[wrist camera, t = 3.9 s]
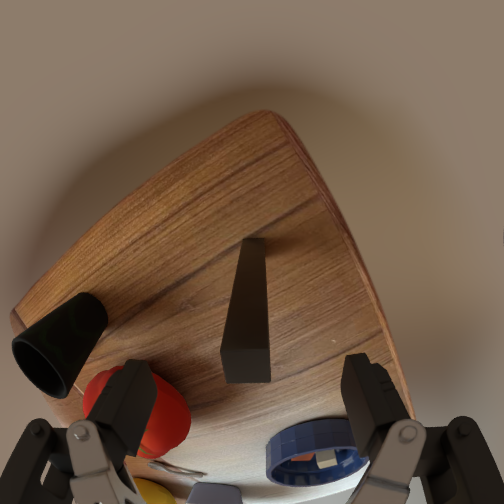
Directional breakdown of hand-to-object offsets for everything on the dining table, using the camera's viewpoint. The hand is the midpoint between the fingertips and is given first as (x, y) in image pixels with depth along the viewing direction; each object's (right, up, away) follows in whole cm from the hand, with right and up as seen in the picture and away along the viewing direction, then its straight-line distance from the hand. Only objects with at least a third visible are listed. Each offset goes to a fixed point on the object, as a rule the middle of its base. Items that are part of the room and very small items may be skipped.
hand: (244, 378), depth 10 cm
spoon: (-16, -41, +32) cm, 55 cm away
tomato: (-15, -15, +23) cm, 31 cm away
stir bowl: (+11, -27, +27) cm, 40 cm away
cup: (-20, -3, +19) cm, 28 cm away
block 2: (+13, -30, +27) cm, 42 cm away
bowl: (-8, -53, +36) cm, 65 cm away
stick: (0, +5, +16) cm, 17 cm away
